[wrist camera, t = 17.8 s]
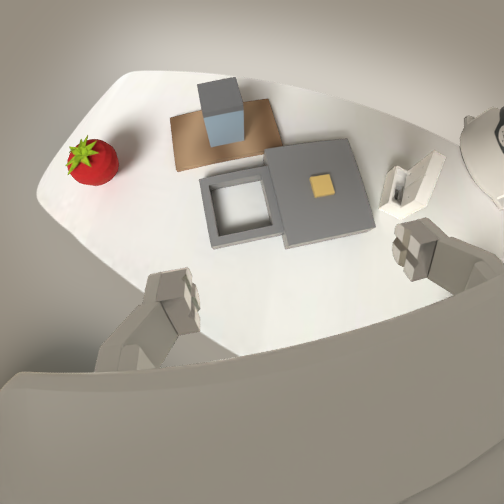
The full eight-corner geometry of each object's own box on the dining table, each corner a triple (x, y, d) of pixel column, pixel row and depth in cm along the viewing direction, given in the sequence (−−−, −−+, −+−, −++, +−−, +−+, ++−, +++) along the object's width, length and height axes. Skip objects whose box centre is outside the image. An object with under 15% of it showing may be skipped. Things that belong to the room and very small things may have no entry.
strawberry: (122, 202, 35) (86, 175, 25) (82, 191, 35) (43, 165, 25) (139, 162, 36) (109, 126, 26) (98, 154, 36) (64, 122, 26)
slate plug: (237, 114, 36) (235, 77, 28) (244, 140, 35) (243, 104, 27) (205, 120, 36) (197, 84, 28) (210, 147, 35) (202, 113, 27)
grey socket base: (340, 148, 36) (348, 136, 33) (366, 231, 35) (377, 226, 31) (199, 172, 36) (194, 160, 32) (216, 264, 34) (212, 261, 31)
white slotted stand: (419, 154, 34) (446, 157, 26) (394, 214, 38) (414, 231, 30) (398, 142, 34) (422, 142, 26) (373, 204, 38) (390, 219, 30)
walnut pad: (267, 102, 37) (268, 98, 36) (282, 151, 36) (283, 147, 35) (171, 121, 37) (169, 117, 36) (177, 172, 36) (176, 169, 35)
